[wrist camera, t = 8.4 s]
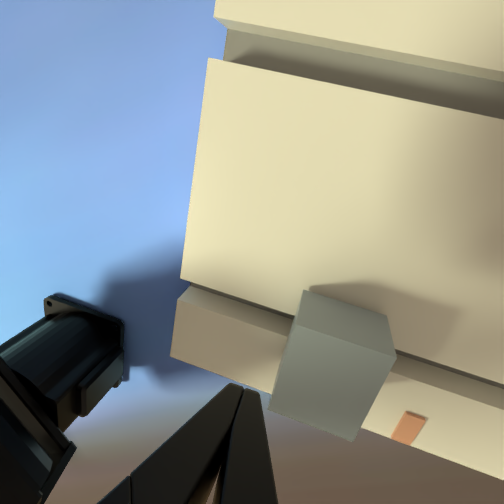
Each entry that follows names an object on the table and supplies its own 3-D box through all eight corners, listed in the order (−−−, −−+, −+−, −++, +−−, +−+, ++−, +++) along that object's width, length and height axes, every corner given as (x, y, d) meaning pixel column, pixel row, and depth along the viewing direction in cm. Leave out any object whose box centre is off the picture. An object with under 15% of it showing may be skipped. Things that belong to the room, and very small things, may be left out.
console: (187, 332, 22) (168, 358, 20) (252, -91, 13) (231, -141, 10) (529, 454, 19) (558, 503, 16) (939, -1, 10) (1143, -43, 7)
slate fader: (283, 346, 19) (267, 409, 15) (306, 274, 17) (295, 324, 13) (350, 369, 18) (353, 441, 14) (382, 297, 16) (396, 357, 12)
